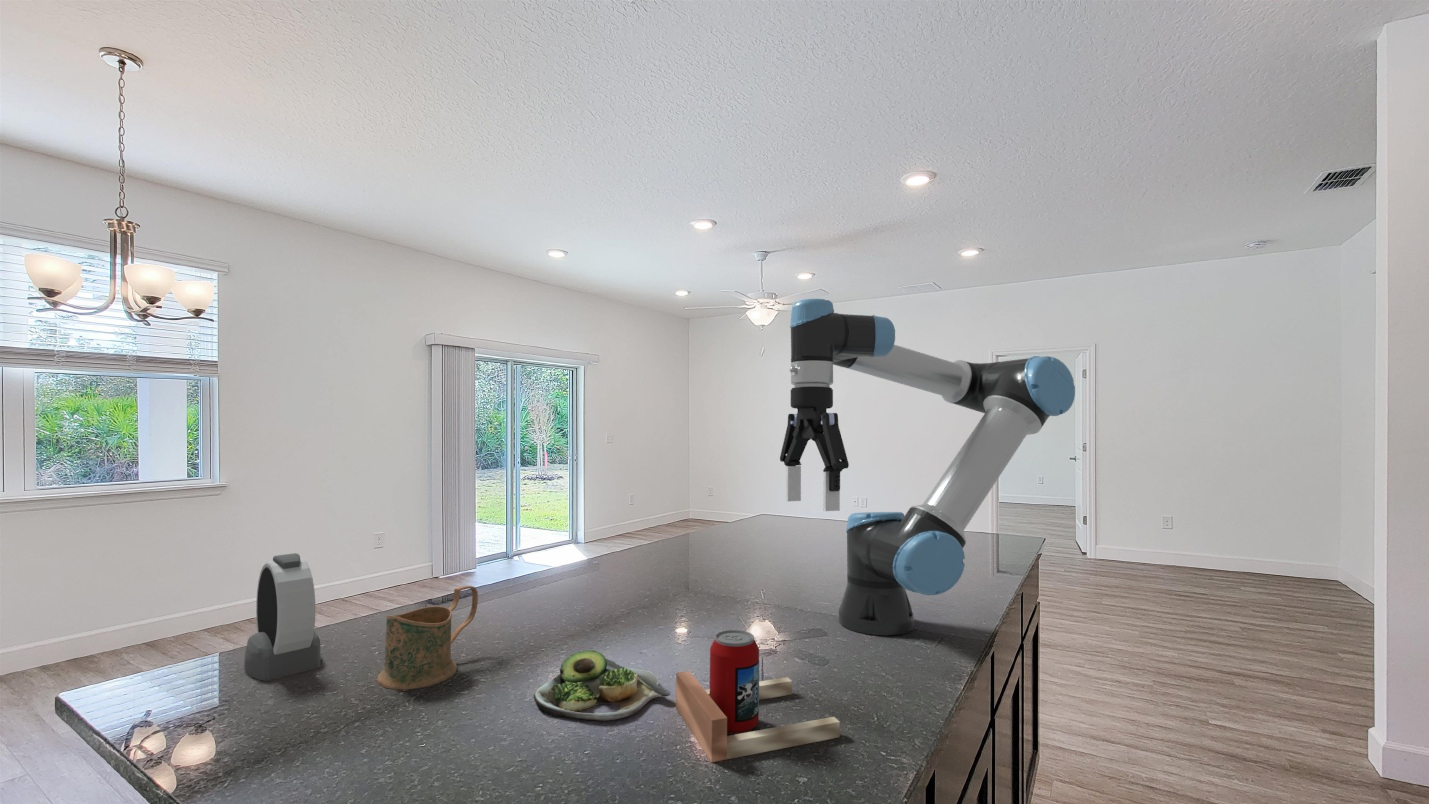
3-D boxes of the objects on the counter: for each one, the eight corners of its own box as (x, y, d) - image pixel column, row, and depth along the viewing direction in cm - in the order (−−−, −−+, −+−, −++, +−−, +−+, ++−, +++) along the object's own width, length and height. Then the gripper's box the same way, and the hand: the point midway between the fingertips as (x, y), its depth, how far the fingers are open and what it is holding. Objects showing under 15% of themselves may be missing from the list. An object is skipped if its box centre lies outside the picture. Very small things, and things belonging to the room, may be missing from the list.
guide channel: (787, 690, 94) (787, 657, 95) (839, 737, 80) (839, 698, 80) (675, 707, 88) (676, 672, 88) (711, 762, 74) (711, 720, 74)
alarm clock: (235, 658, 105) (239, 552, 106) (305, 643, 112) (308, 543, 113) (256, 687, 94) (260, 567, 95) (332, 668, 101) (335, 557, 102)
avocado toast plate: (690, 683, 97) (690, 654, 97) (638, 737, 80) (639, 702, 81) (585, 665, 104) (585, 638, 104) (517, 712, 87) (518, 679, 87)
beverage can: (755, 740, 79) (755, 647, 80) (704, 734, 81) (705, 642, 81) (761, 716, 86) (762, 630, 86) (714, 711, 87) (715, 626, 88)
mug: (498, 655, 108) (500, 586, 108) (411, 695, 92) (414, 614, 92) (451, 644, 112) (453, 579, 113) (361, 680, 97) (363, 604, 97)
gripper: (763, 389, 120) (762, 498, 119) (829, 381, 96) (829, 516, 96) (797, 390, 122) (796, 496, 122) (870, 383, 99) (870, 514, 98)
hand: (811, 505), depth 109 cm, fingers open, 13 cm apart
